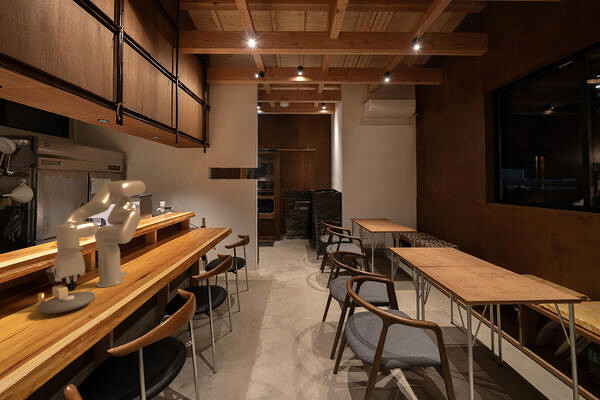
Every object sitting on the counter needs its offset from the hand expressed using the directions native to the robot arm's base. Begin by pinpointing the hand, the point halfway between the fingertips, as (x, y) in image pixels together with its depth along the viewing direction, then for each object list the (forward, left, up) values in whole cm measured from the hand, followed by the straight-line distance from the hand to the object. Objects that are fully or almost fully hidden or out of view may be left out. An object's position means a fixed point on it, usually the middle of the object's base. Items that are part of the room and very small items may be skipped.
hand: (71, 290), depth 118 cm
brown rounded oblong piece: (+6, +2, -5) cm, 8 cm away
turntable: (+5, +5, -3) cm, 7 cm away
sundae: (-10, -21, -5) cm, 24 cm away
